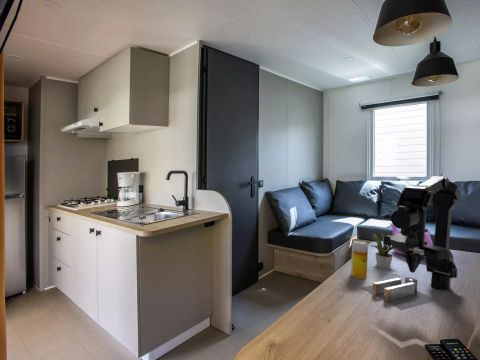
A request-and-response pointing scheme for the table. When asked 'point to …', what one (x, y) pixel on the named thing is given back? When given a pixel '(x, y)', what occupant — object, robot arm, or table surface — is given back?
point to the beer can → (359, 259)
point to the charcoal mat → (404, 299)
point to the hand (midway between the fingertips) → (412, 272)
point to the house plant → (383, 253)
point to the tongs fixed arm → (385, 285)
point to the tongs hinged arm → (401, 289)
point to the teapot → (429, 244)
